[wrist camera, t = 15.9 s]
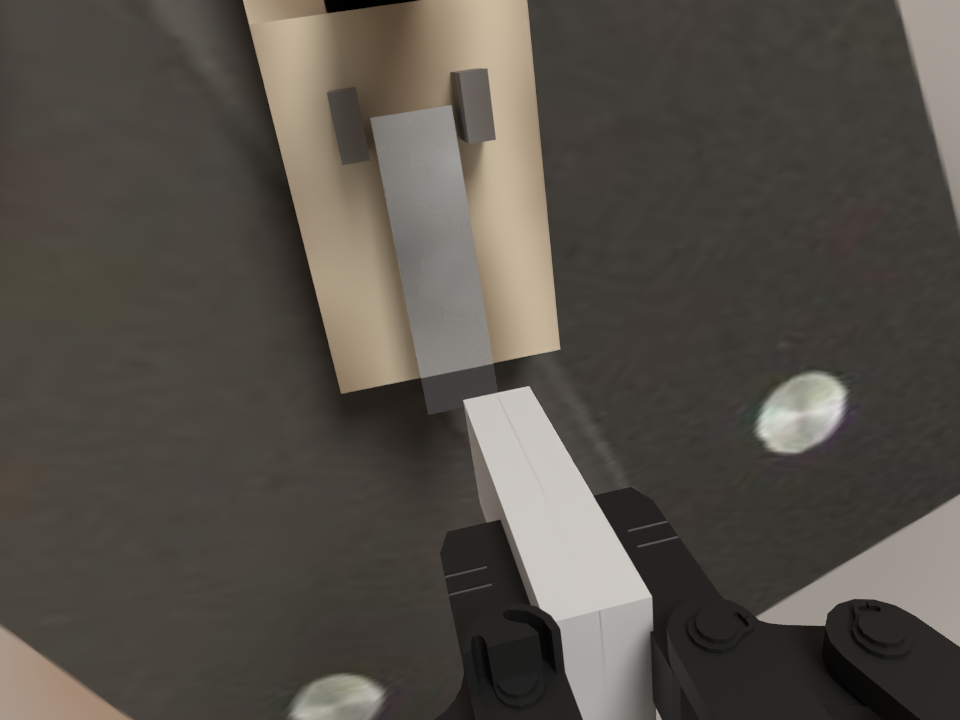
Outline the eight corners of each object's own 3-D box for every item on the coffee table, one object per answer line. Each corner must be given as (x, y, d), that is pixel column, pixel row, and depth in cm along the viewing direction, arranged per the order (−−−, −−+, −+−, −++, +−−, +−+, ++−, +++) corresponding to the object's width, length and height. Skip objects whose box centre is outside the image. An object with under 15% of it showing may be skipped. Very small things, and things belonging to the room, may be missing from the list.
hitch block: (341, 350, 35) (341, 417, 28) (211, -186, 25) (166, -272, 19) (532, 313, 36) (574, 368, 29) (474, -214, 26) (517, -305, 20)
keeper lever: (426, 407, 29) (428, 414, 28) (370, 119, 26) (370, 118, 25) (494, 392, 29) (499, 400, 28) (448, 107, 26) (451, 105, 25)
